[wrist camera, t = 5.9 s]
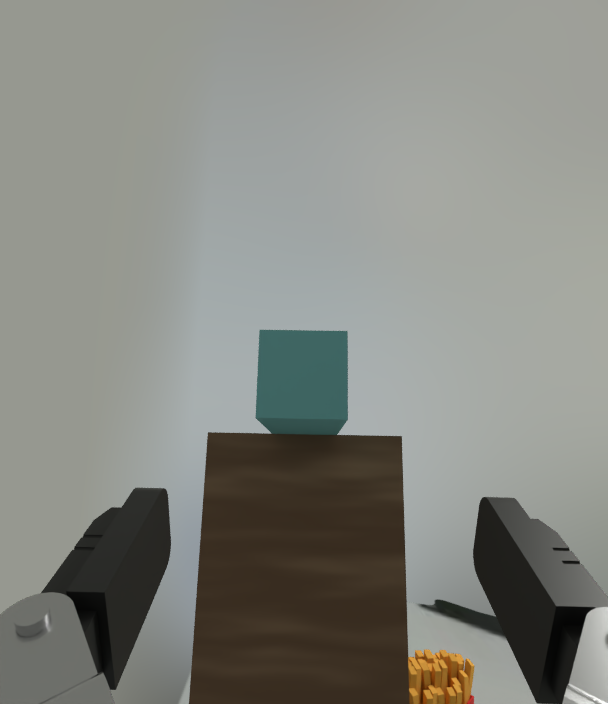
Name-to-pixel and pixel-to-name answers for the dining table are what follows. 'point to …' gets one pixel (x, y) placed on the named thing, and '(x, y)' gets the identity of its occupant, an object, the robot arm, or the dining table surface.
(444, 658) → the french fries
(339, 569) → the wooden block
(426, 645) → the dining table surface
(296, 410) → the batten
